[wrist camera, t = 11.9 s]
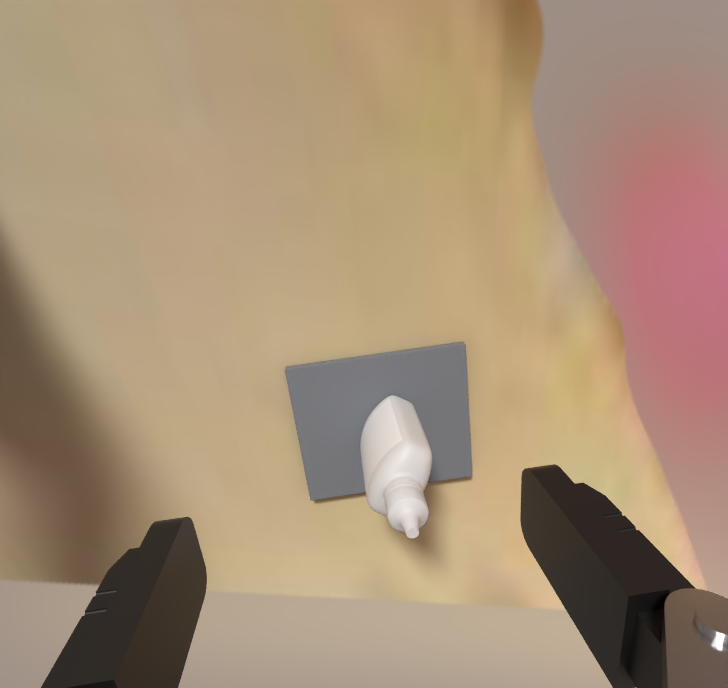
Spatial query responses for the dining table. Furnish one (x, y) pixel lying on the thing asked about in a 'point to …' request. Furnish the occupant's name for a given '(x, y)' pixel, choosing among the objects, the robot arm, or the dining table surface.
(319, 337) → the dining table surface
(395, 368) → the slate mat
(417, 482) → the eye dropper bottle
